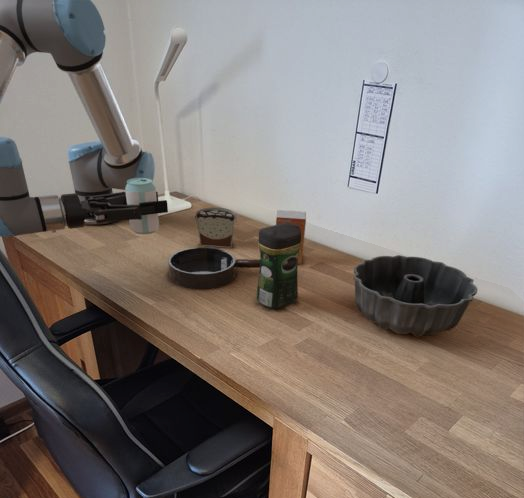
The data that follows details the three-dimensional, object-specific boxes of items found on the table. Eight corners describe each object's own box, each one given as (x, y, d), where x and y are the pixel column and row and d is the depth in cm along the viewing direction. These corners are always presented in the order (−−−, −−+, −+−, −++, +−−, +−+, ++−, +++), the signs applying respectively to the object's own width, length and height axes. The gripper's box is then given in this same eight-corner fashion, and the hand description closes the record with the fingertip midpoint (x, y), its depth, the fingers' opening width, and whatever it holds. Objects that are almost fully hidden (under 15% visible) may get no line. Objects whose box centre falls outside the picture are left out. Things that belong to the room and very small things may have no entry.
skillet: (172, 260, 127) (171, 247, 124) (234, 260, 128) (234, 247, 126) (166, 289, 112) (165, 274, 110) (236, 288, 114) (236, 274, 112)
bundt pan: (326, 299, 111) (331, 260, 106) (415, 284, 120) (424, 248, 114) (389, 358, 91) (400, 315, 86) (490, 336, 100) (505, 295, 94)
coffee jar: (280, 289, 115) (284, 216, 104) (302, 301, 110) (309, 226, 99) (250, 300, 109) (252, 224, 99) (272, 313, 104) (276, 235, 94)
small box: (273, 262, 128) (275, 216, 121) (274, 253, 133) (276, 209, 126) (302, 264, 128) (306, 218, 120) (301, 255, 133) (306, 211, 126)
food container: (239, 240, 141) (239, 208, 135) (236, 248, 136) (236, 215, 130) (200, 237, 142) (198, 205, 136) (195, 245, 136) (194, 212, 131)
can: (130, 226, 116) (124, 177, 109) (158, 224, 117) (154, 176, 110) (130, 236, 110) (124, 185, 103) (160, 234, 112) (155, 184, 105)
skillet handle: (233, 269, 119) (233, 261, 118) (233, 265, 121) (233, 257, 120) (283, 269, 120) (284, 261, 119) (282, 265, 122) (283, 258, 121)
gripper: (60, 215, 112) (152, 205, 121) (73, 243, 98) (176, 229, 107) (53, 183, 108) (149, 176, 117) (66, 208, 94) (174, 197, 103)
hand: (162, 201), depth 112 cm, fingers closed on can, 7 cm apart
